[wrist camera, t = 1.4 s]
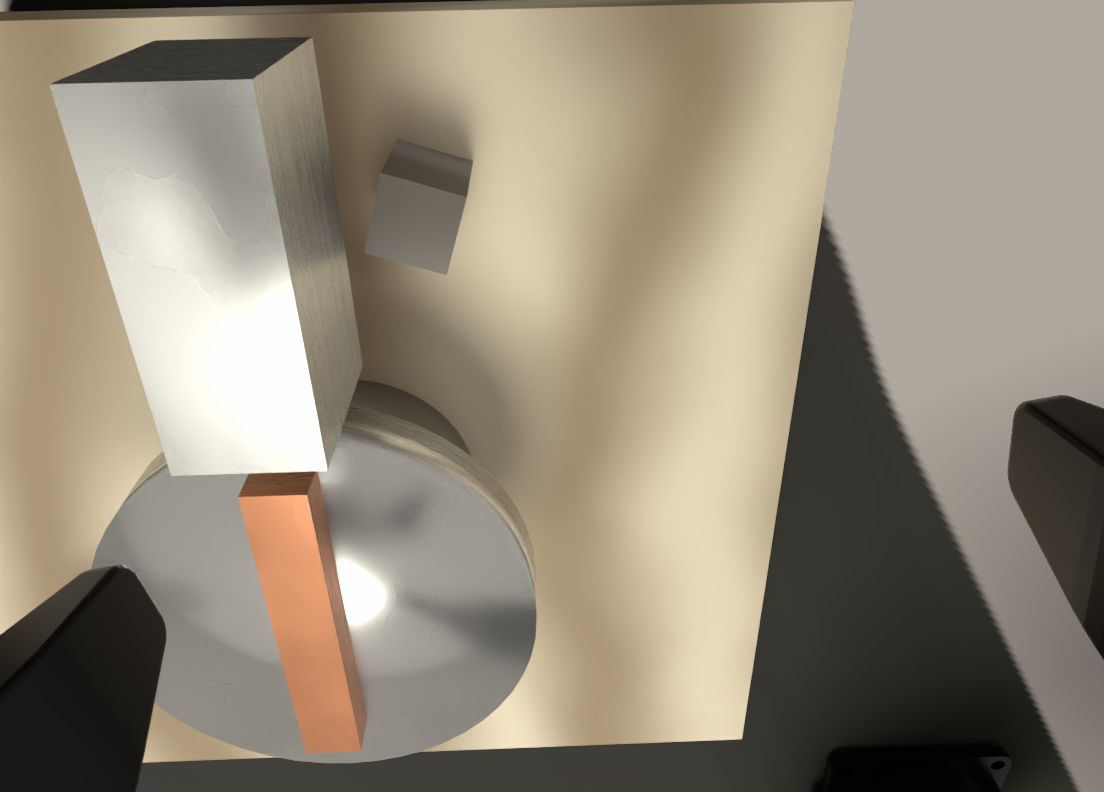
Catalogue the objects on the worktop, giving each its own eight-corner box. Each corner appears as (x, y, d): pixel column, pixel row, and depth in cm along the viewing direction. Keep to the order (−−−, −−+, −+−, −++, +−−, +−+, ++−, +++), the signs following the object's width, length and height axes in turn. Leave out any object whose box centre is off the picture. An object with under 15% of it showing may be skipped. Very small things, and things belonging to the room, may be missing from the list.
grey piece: (540, 686, 22) (543, 816, 18) (185, 699, 21) (131, 832, 18) (516, 31, 13) (514, 73, 10) (-52, 45, 13) (-219, 90, 10)
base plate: (830, -8, 17) (925, 24, 13) (732, 701, 29) (767, 836, 25) (-248, 17, 17) (-492, 58, 13) (84, 726, 28) (10, 867, 24)
